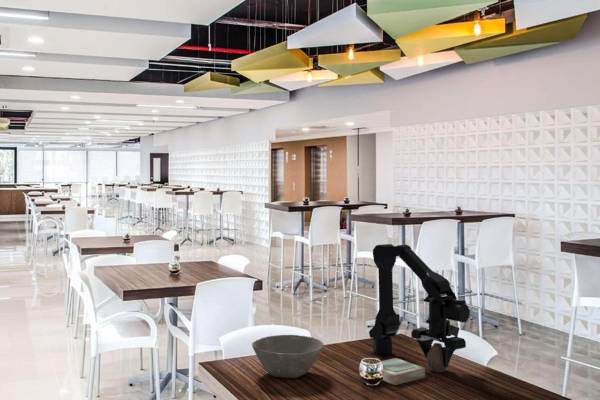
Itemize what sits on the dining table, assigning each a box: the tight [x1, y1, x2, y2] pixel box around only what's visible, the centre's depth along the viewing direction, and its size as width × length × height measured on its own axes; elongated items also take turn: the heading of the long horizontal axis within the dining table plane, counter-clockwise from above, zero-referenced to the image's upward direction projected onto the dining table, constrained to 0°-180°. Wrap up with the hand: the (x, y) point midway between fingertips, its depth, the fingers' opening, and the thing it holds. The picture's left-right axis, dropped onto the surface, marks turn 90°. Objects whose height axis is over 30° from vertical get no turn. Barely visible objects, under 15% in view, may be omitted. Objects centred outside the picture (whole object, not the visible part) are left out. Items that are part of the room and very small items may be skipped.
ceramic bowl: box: [251, 334, 324, 379], centre depth 179 cm, size 22×23×10 cm
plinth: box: [380, 357, 426, 386], centre depth 178 cm, size 13×13×3 cm
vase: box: [426, 342, 448, 373], centre depth 183 cm, size 7×7×9 cm
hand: (437, 364), depth 183 cm, fingers closed on vase, 7 cm apart
